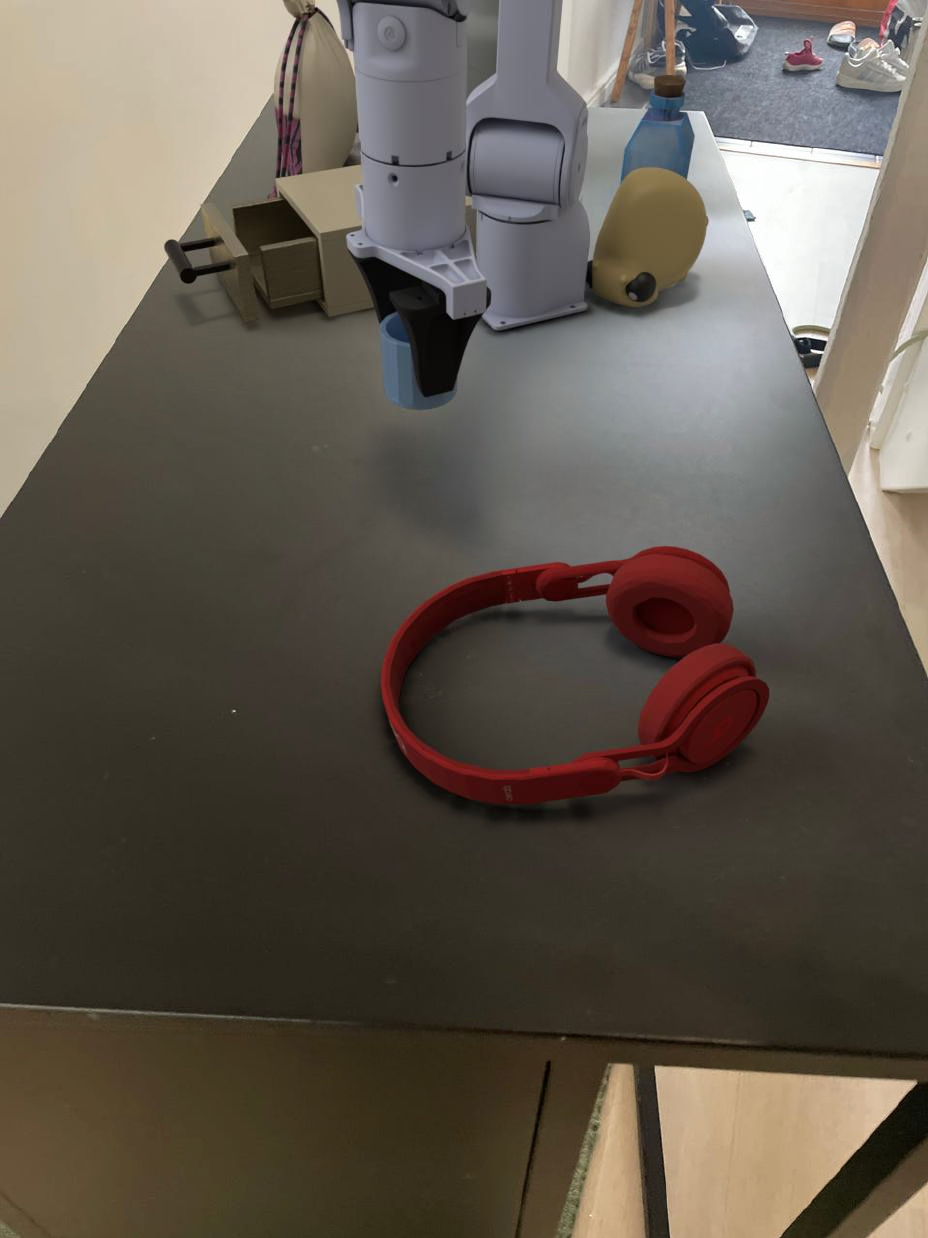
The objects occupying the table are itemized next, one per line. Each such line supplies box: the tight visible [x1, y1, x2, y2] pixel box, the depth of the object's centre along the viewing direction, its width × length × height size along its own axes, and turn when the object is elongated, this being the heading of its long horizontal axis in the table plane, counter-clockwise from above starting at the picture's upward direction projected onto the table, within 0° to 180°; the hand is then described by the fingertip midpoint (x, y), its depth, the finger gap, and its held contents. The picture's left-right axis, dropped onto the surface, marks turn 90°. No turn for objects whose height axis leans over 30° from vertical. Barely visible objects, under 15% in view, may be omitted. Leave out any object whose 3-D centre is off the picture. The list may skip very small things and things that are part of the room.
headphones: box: [380, 545, 770, 806], centre depth 50 cm, size 15×7×20 cm
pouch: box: [266, 0, 359, 199], centre depth 95 cm, size 25×8×19 cm, turn 171°
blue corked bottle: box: [619, 74, 696, 185], centre depth 95 cm, size 6×6×12 cm
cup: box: [379, 311, 458, 411], centre depth 58 cm, size 5×5×4 cm
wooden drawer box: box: [274, 164, 478, 318], centre depth 85 cm, size 15×13×8 cm
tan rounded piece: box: [585, 167, 710, 308], centre depth 82 cm, size 10×12×11 cm
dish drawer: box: [163, 196, 324, 322], centre depth 82 cm, size 18×11×6 cm, turn 115°
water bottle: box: [466, 0, 499, 101], centre depth 95 cm, size 10×10×28 cm
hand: (419, 369), depth 59 cm, fingers closed on cup, 5 cm apart
